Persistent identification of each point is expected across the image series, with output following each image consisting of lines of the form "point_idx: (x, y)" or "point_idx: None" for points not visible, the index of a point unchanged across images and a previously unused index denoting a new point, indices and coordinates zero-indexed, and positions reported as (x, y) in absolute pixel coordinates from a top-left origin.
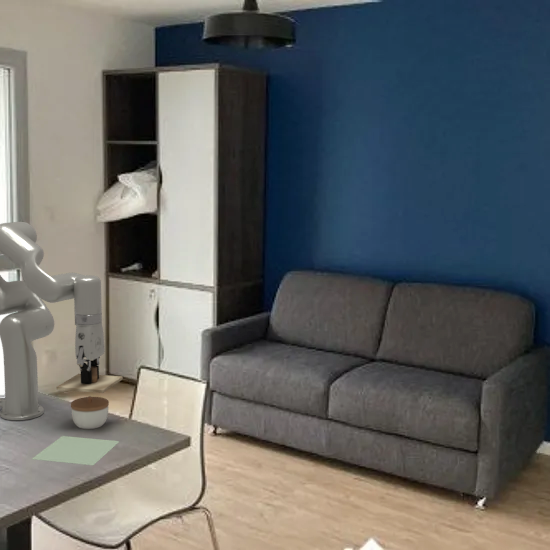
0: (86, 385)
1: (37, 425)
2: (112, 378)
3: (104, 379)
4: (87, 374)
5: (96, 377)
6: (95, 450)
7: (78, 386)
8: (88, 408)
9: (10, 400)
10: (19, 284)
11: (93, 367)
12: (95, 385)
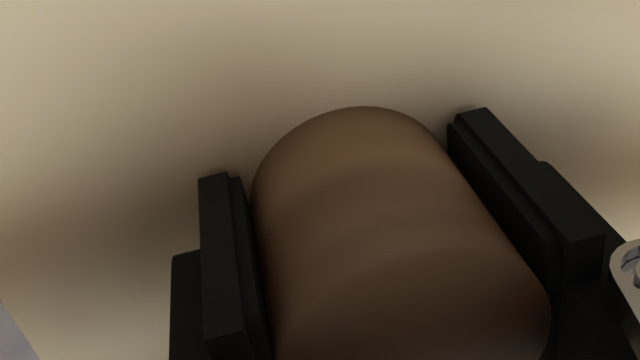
0: (539, 124)
1: None
2: (11, 4)
3: (154, 93)
4: (603, 220)
5: (360, 147)
6: None
7: (598, 180)
8: None
9: None
10: None
11: (351, 342)
12: (512, 7)
